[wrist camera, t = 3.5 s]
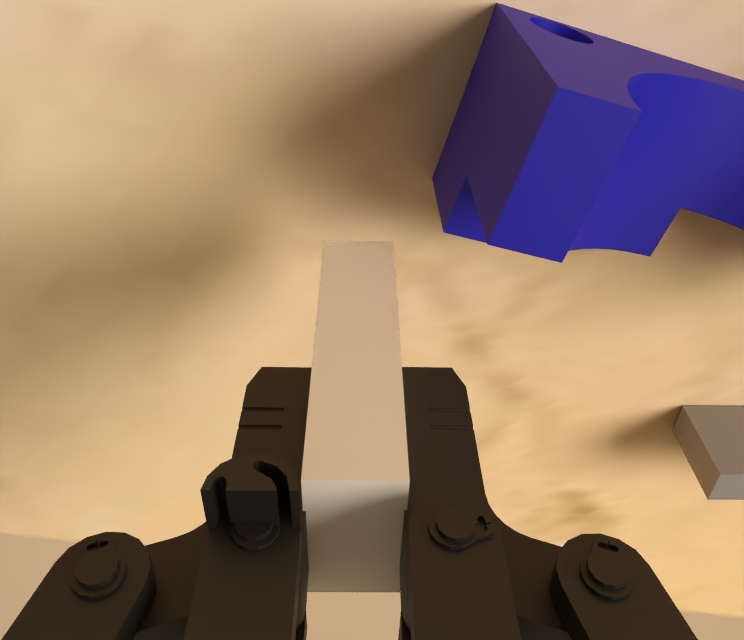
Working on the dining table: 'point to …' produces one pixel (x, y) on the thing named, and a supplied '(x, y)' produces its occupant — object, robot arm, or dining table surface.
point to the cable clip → (586, 142)
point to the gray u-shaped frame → (714, 448)
